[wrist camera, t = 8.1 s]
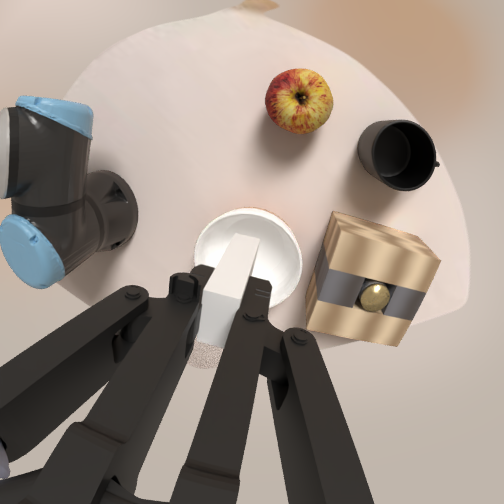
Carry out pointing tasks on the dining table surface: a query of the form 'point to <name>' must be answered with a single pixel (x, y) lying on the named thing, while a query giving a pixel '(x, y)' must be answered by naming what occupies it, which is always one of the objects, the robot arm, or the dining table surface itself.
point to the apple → (299, 100)
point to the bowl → (269, 251)
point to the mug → (398, 154)
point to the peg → (374, 295)
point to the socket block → (373, 267)
